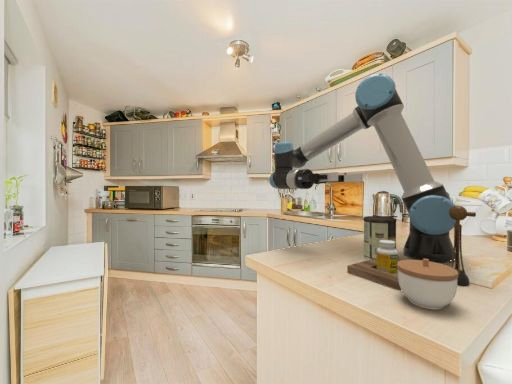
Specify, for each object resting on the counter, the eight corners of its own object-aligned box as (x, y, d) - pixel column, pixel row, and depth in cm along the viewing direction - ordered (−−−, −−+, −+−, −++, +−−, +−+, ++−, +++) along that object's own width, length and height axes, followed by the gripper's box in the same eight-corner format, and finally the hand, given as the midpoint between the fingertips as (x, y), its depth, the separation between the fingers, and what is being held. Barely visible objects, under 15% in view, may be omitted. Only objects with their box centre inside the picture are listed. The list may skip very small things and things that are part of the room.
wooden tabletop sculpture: (478, 285, 61) (479, 206, 60) (468, 289, 59) (469, 206, 58) (451, 278, 66) (452, 204, 66) (441, 280, 64) (442, 205, 64)
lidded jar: (387, 300, 53) (387, 257, 53) (409, 288, 60) (409, 250, 59) (446, 322, 45) (447, 271, 44) (465, 305, 51) (466, 260, 51)
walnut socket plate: (377, 263, 79) (377, 257, 79) (430, 278, 66) (430, 271, 66) (347, 272, 71) (347, 265, 71) (400, 290, 58) (400, 282, 58)
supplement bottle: (382, 270, 72) (383, 238, 72) (402, 276, 68) (402, 241, 67) (372, 274, 69) (372, 240, 69) (391, 280, 65) (392, 244, 64)
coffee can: (386, 254, 90) (386, 216, 90) (402, 262, 80) (403, 219, 80) (358, 254, 90) (358, 216, 90) (371, 262, 80) (371, 219, 80)
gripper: (321, 188, 102) (370, 188, 85) (276, 189, 87) (325, 189, 70) (321, 170, 102) (370, 167, 85) (276, 168, 87) (325, 163, 70)
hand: (350, 177), depth 77 cm, fingers open, 13 cm apart
